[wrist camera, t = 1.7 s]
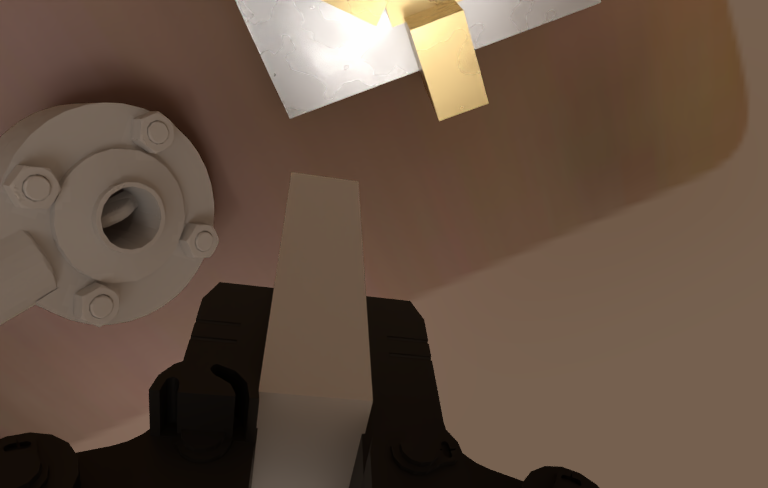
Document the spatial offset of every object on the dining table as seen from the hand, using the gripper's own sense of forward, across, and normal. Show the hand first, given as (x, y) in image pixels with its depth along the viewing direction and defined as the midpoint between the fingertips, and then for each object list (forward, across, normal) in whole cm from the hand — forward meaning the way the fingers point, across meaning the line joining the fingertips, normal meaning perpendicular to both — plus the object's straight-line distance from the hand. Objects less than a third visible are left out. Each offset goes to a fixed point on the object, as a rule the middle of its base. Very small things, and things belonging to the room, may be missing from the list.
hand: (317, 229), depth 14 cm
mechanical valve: (+19, -15, -12) cm, 27 cm away
